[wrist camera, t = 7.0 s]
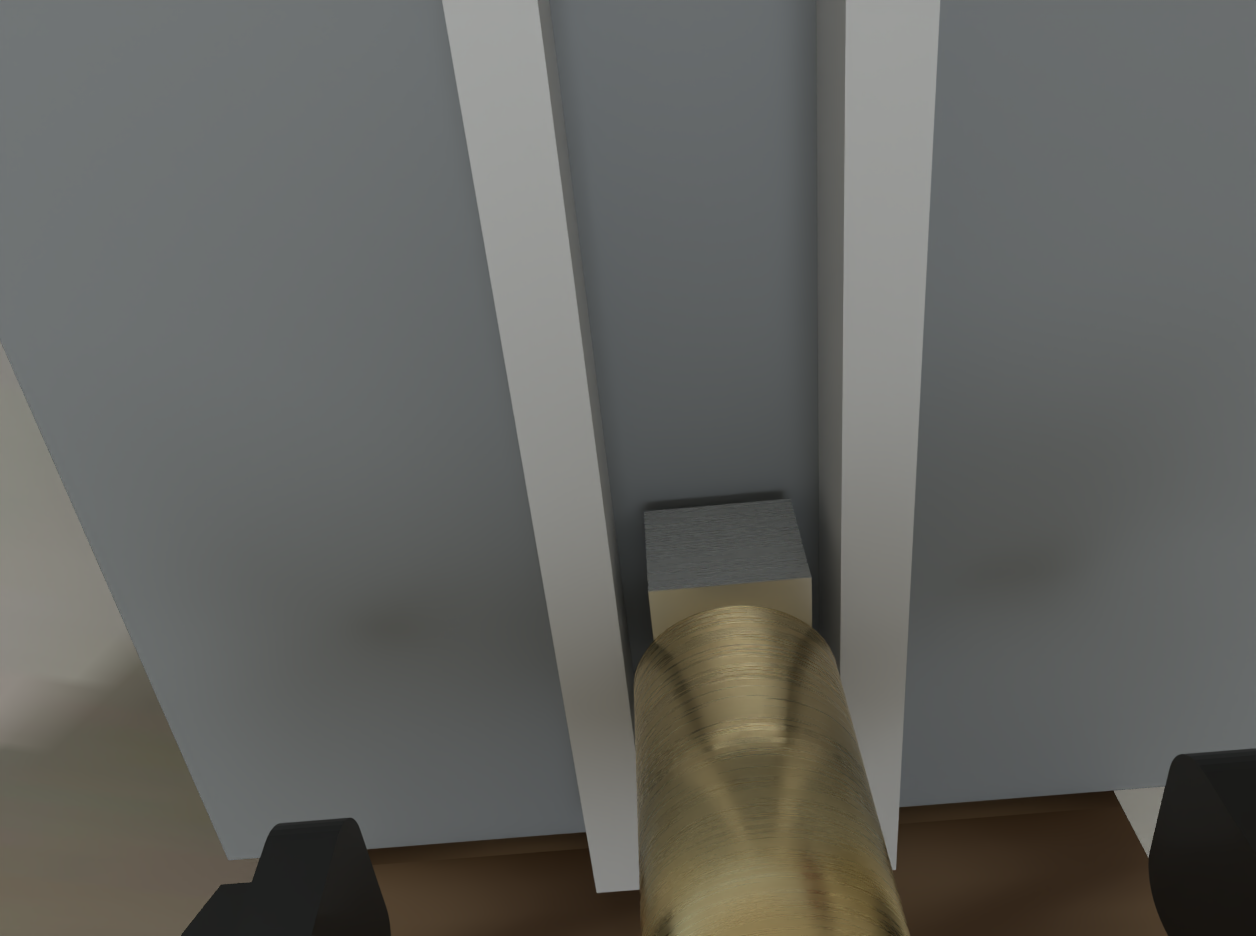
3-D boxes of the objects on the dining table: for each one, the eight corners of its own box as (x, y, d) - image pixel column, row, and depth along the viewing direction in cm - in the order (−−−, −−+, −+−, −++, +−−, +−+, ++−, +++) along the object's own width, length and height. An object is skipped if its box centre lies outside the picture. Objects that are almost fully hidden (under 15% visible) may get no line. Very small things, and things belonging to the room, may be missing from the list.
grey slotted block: (1451, -354, 11) (1780, -421, 8) (1199, 686, 18) (1318, 861, 15) (-99, -174, 11) (-354, -172, 8) (263, 764, 18) (196, 945, 16)
